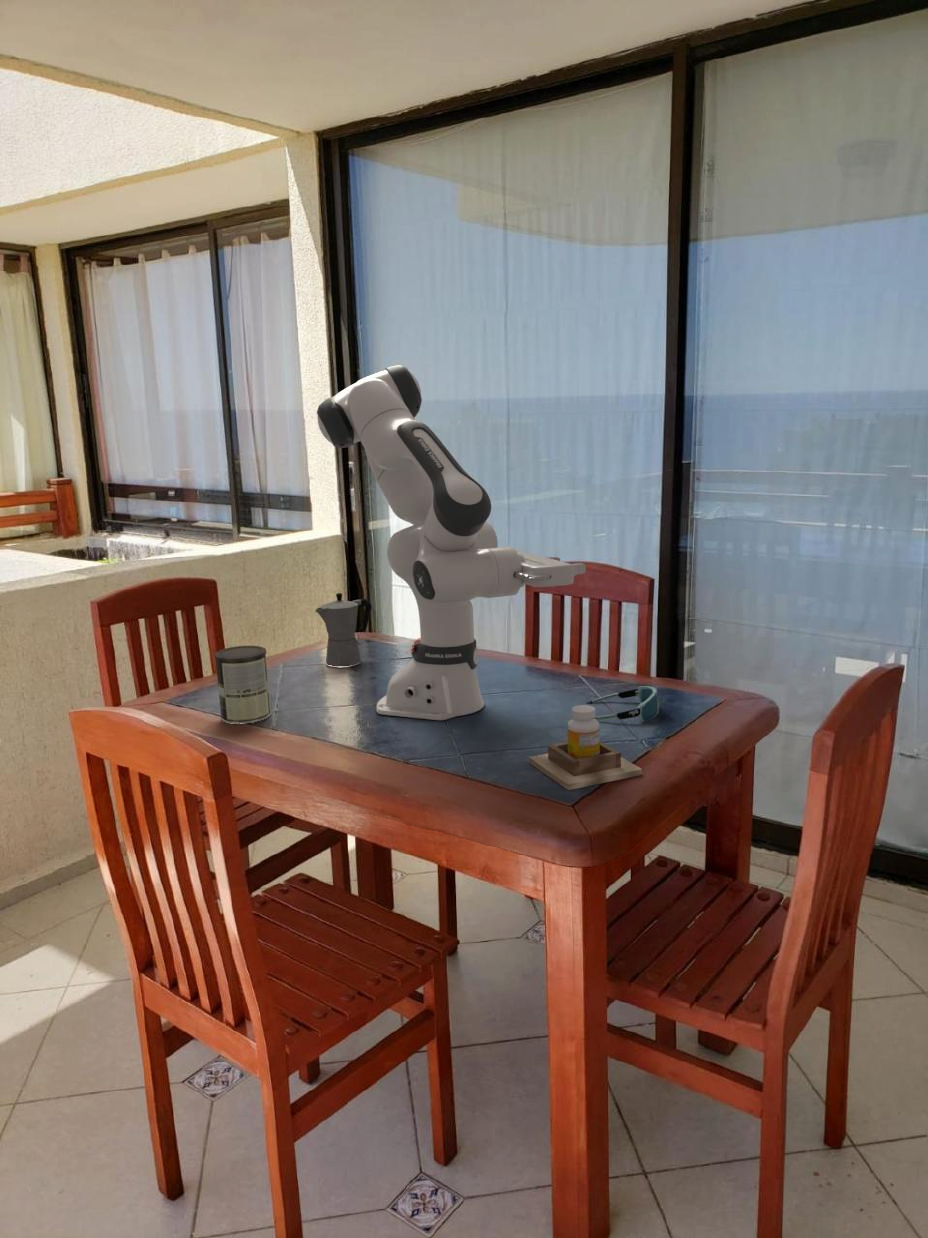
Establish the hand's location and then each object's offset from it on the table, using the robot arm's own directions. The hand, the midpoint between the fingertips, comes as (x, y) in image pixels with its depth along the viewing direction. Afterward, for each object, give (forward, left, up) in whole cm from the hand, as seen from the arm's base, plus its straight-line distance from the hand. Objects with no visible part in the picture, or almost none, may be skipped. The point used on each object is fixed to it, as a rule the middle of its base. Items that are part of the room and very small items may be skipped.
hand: (570, 564), depth 172 cm
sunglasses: (+9, +12, -33) cm, 36 cm away
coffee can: (-68, 0, -32) cm, 75 cm away
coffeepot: (-61, +44, -32) cm, 82 cm away
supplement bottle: (+4, -20, -31) cm, 37 cm away
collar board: (+4, -20, -32) cm, 38 cm away
